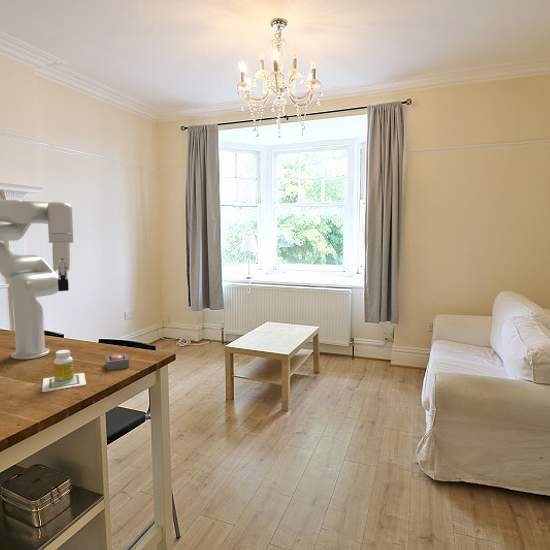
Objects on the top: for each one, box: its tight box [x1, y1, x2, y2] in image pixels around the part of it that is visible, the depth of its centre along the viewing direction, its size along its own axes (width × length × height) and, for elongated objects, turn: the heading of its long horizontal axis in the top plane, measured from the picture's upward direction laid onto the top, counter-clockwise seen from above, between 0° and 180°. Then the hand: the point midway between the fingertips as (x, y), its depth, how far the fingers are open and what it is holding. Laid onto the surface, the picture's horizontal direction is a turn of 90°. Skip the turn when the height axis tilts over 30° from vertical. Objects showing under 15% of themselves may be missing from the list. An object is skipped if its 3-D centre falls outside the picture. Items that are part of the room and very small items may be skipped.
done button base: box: [105, 353, 130, 371], centre depth 143 cm, size 7×7×3 cm
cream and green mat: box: [41, 372, 87, 393], centre depth 127 cm, size 11×12×1 cm
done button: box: [111, 354, 123, 361], centre depth 143 cm, size 4×4×2 cm
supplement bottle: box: [53, 349, 74, 384], centre depth 126 cm, size 5×5×10 cm
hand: (63, 290), depth 140 cm, fingers closed
